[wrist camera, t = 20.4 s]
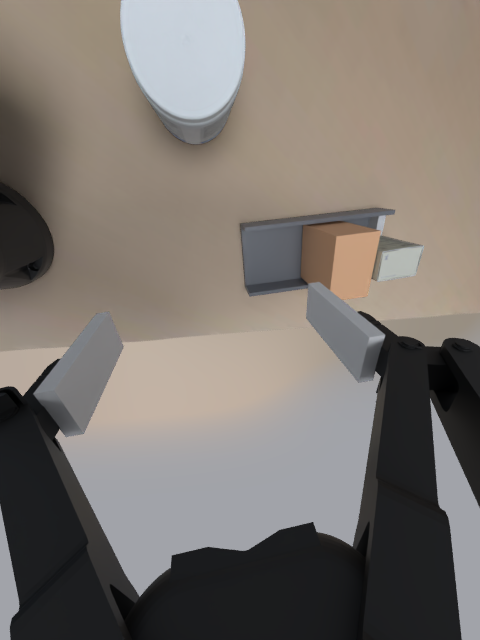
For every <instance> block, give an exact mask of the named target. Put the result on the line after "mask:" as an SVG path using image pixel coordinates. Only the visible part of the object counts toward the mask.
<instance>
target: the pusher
mask: <svg viewBox="0 0 480 640" xmlns="http://www.w3.org/2000/svg"><path fill="white" fill-rule="evenodd" d="M380 234H381V231H380V230H376V229H372V228H368V227H364V226H360V225H356V224H352V223H348V222H344V221H333V222H324V223H316V224H307V225H303V235H302V256H301V278H302V279H304V280H305V281H306V282H307V283H308V284H309V283H315V282H320V283H321V284H323V285H324V286H325V287H326V288H328V289H329V290H330V291H331V292H333V293H334V294H335V295H336V296H338V297H339V298H340V299H341V300H346V299H353V298H359V297H366V296H368V291H369V287H370V282H371V277H372V272H373V267H374V263H375V258H376V253H377V248H378V244H379V239H380Z"/></svg>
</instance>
